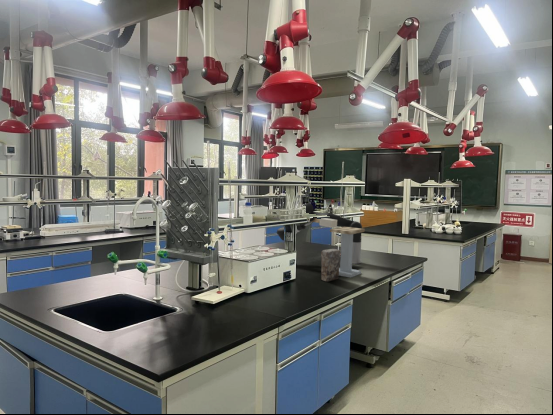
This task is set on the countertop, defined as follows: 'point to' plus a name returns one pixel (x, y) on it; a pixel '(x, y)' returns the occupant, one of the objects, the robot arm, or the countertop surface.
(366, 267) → the countertop surface
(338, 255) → the stone block
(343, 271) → the shelf stand
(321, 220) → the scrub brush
